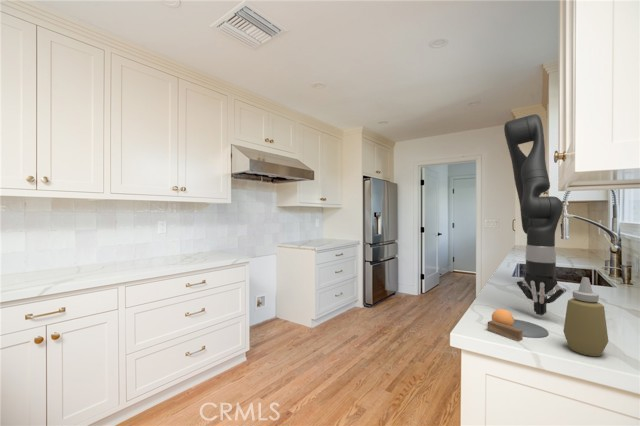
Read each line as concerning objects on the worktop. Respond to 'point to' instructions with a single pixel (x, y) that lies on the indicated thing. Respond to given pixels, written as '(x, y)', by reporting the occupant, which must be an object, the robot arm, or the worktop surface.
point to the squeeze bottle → (585, 321)
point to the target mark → (530, 329)
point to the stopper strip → (505, 330)
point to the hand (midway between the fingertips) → (539, 314)
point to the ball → (503, 317)
